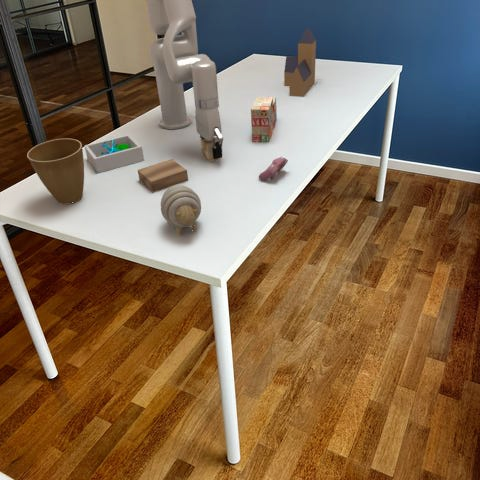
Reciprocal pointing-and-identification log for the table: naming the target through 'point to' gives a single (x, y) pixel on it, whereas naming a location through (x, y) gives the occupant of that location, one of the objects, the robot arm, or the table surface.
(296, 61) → the toy building blocks
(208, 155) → the oak block
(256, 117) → the stack of blocks
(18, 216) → the table surface
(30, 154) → the plant pot
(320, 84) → the table surface
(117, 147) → the green blue spiky piece
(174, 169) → the base block
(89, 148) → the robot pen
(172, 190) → the toy sheep
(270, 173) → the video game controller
